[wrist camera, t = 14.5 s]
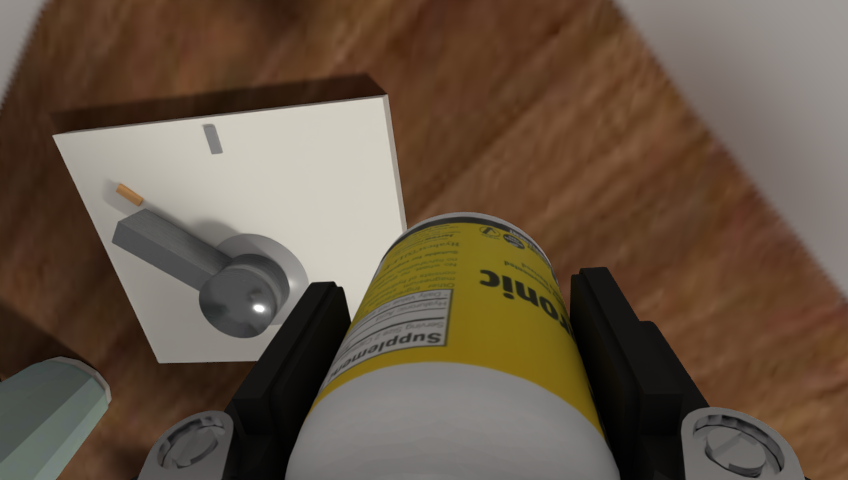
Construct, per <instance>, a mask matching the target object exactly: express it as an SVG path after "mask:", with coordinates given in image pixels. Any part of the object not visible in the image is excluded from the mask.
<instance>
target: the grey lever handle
mask: <svg viewBox="0 0 848 480" xmlns="http://www.w3.org/2000/svg"><path fill="white" fill-rule="evenodd" d="M112 243H113V244H115V245H117V246H119V247H120V248H122V249H124V250H126V251H128V252H129V253H131V254H133V255H135V256H137V257H138V258H140V259H142V260H144V261H146V262H147V263H149V264H151V265H153V266H155V267H156V268H158V269H160V270H162V271H164V272H165V273H167V274H169V275H171V276H173V277H174V278H176V279H178V280H180V281H182V282H183V283H185V284H187V285H189V286H191V287H192V288H194V289H196V290H198V291H199V305H200V309H201V311H202V313H203V315H204V317H205V318H206V319H207V321H208V322H209V323H210V324H211V325H212V326H213V327H215V328H216V329H217V330H219V331H220V332H222V333H224V334H226V335H229V336H232V337H236V338H252V337H256V336H258V335H260V334H261V333H263V332H264V331H265V330H266V329H267V327H268V326H269V325H270V323H271V322H272V321H273V319H274V318H275V317H276V315H277V314H278V312H279V311H280V310H281V308H282V307H283V306H284V304H285V303H286V301H287V300H288V297H289V293H290V286H289V282H288V279H287V277H286V275H285V273H284V272H283V270H282V269H281V268H280V267H279V266H278V265H277V264H276V263H275V262H273V261H272V260H270V259H268V258H266V257H264V256H261V255H258V254H242V255H239V256H236V257H234V258H231V257H229V256H227V255H226V254H224V253H222V252H221V251H219V250H217V249H215V248H214V247H212V246H210V245H208V244H207V243H205V242H203V241H201V240H200V239H198V238H196V237H195V236H193V235H191V234H189V233H188V232H186V231H184V230H182V229H181V228H179V227H177V226H175V225H174V224H172V223H170V222H168V221H167V220H165V219H163V218H162V217H160V216H158V215H156V214H155V213H153V212H151V211H149V210H148V209H146V208H145V209H143V210H140V211H138V212H136V213H134V214H132V215H130V216H128V217H126V218H124V219H122V220H120V221H118V223H117V226H116V229H115V232H114V235H113V239H112Z"/></svg>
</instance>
